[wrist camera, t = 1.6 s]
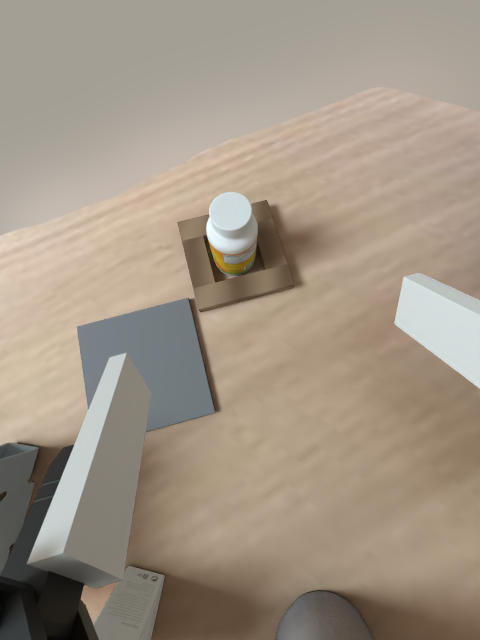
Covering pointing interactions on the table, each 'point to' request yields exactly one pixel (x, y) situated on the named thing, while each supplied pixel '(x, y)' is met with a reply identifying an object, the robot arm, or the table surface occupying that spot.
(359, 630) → the pillar candle
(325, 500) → the table surface
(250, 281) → the socket block
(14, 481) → the bracket
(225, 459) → the table surface
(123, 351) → the mat
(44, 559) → the robot arm
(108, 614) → the skincare box
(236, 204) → the supplement bottle
